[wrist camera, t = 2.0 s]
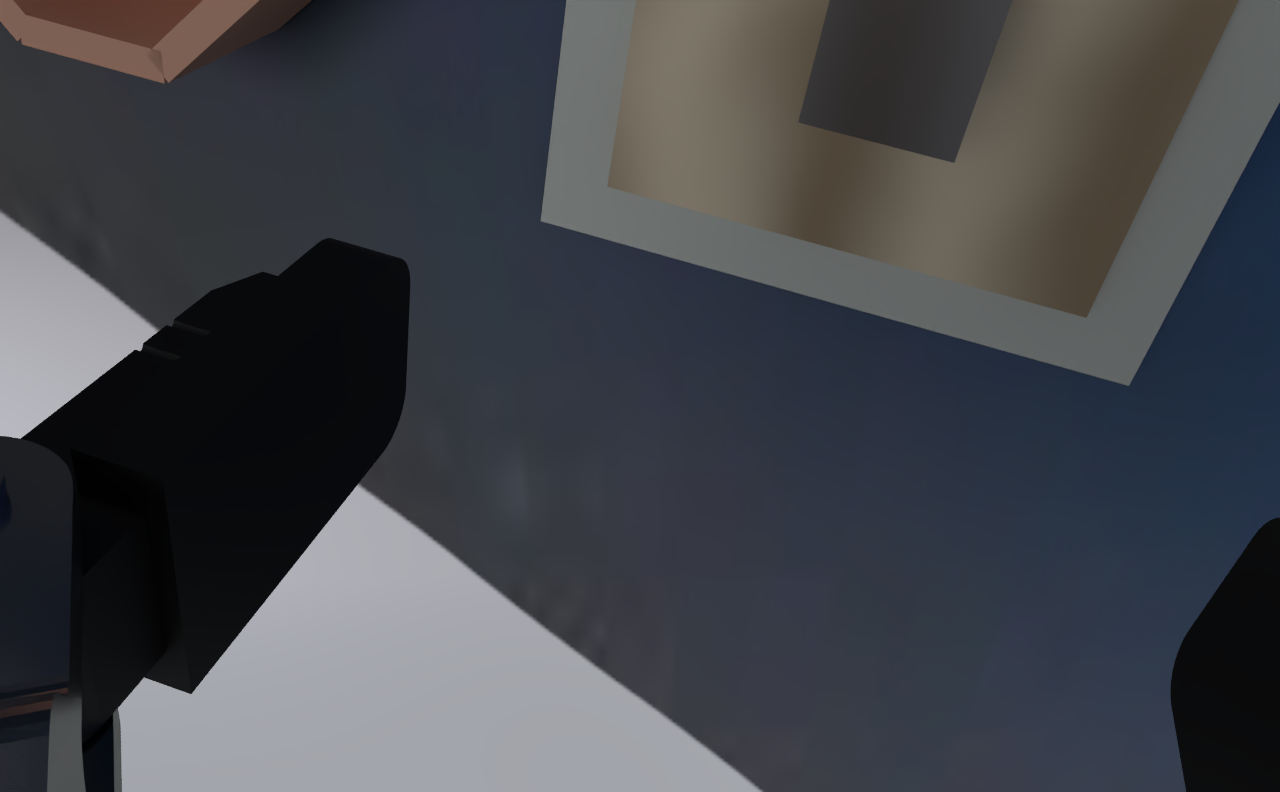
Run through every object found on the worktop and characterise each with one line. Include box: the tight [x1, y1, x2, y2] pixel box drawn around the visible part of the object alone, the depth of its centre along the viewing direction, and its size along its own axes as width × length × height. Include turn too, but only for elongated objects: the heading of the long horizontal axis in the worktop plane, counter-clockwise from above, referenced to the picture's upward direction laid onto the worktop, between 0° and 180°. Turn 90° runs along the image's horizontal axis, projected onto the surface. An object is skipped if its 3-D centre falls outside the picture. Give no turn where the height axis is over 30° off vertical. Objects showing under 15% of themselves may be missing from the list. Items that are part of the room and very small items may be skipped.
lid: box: [607, 0, 1239, 318], centre depth 23 cm, size 13×13×6 cm
